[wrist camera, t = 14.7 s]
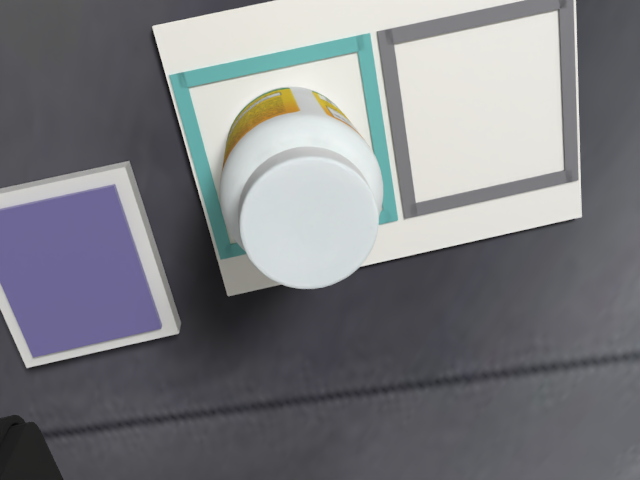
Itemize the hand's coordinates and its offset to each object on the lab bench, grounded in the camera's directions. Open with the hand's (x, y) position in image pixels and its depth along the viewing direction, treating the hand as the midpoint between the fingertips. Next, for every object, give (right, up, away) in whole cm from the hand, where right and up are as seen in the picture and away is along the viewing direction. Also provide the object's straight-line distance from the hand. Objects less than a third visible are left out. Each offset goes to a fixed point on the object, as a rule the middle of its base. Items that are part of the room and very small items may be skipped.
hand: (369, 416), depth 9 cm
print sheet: (+2, +7, +18) cm, 19 cm away
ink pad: (-11, +2, +18) cm, 22 cm away
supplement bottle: (-2, +7, +17) cm, 19 cm away
